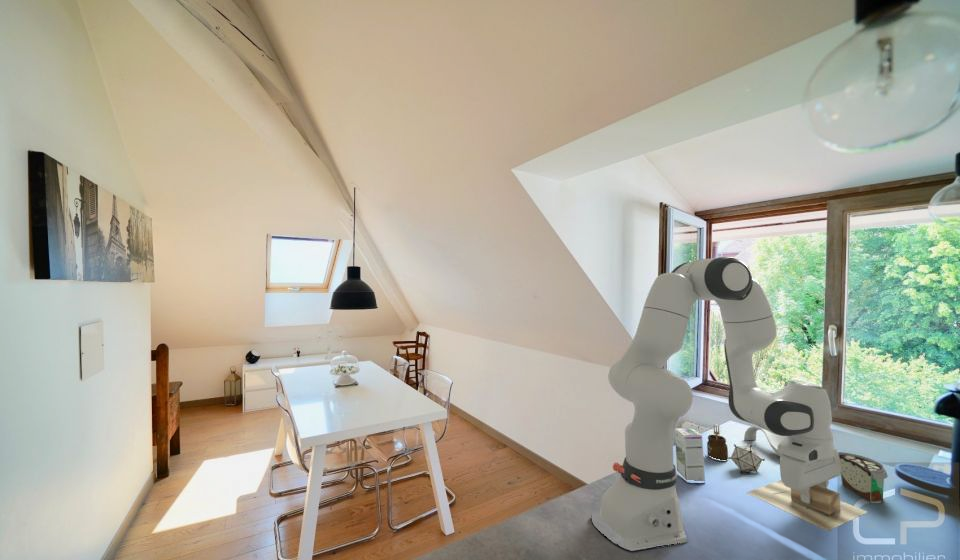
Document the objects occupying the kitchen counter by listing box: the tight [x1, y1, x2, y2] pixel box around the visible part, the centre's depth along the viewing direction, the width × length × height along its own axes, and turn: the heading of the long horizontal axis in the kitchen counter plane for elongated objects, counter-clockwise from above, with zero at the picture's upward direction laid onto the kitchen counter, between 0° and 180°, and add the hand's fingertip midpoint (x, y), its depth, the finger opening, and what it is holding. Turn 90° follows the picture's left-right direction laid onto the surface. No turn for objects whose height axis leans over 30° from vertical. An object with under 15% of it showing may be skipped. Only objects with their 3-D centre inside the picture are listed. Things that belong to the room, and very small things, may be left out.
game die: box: [728, 444, 766, 474], centre depth 114 cm, size 9×8×10 cm
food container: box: [838, 451, 889, 504], centre depth 98 cm, size 12×6×10 cm, turn 168°
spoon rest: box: [743, 425, 786, 457], centre depth 127 cm, size 24×12×7 cm, turn 8°
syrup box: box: [674, 427, 706, 482], centre depth 111 cm, size 6×6×14 cm
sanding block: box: [791, 485, 841, 517], centre depth 93 cm, size 5×8×4 cm, turn 23°
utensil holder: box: [706, 424, 729, 461], centre depth 124 cm, size 6×6×12 cm
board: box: [746, 479, 869, 532], centre depth 95 cm, size 18×18×1 cm
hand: (813, 498), depth 93 cm, fingers closed on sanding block, 5 cm apart
